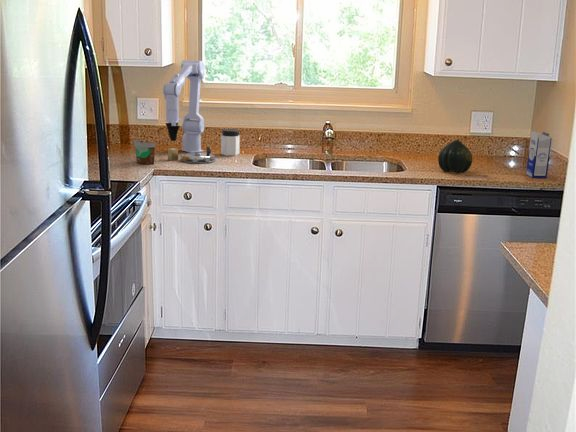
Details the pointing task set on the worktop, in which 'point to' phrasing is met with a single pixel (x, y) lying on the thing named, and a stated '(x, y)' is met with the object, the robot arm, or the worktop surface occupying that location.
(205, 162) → the base plate
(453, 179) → the worktop surface
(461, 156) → the squash
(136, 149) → the food container
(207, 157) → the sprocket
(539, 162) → the milk carton
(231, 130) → the jar
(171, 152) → the beige upright block
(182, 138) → the robot arm
